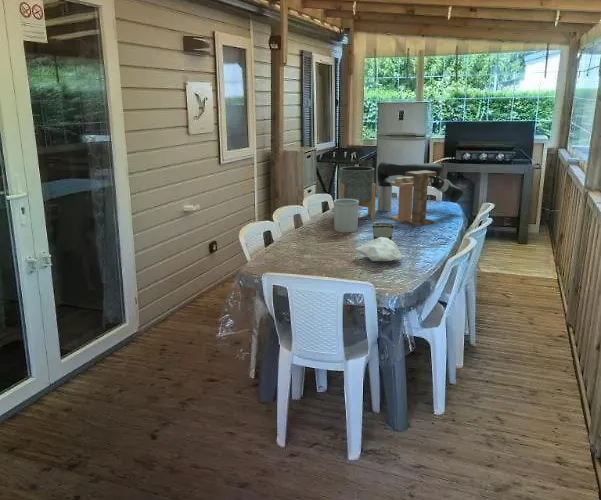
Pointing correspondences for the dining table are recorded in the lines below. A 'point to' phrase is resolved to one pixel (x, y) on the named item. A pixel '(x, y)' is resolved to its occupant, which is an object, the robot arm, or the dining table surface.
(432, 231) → the dining table surface
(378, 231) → the food container
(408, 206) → the terracotta base stand
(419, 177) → the walnut base stand
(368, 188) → the planter
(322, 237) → the dining table surface
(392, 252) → the crumpled cloth
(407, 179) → the beech bar
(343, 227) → the utensil holder
